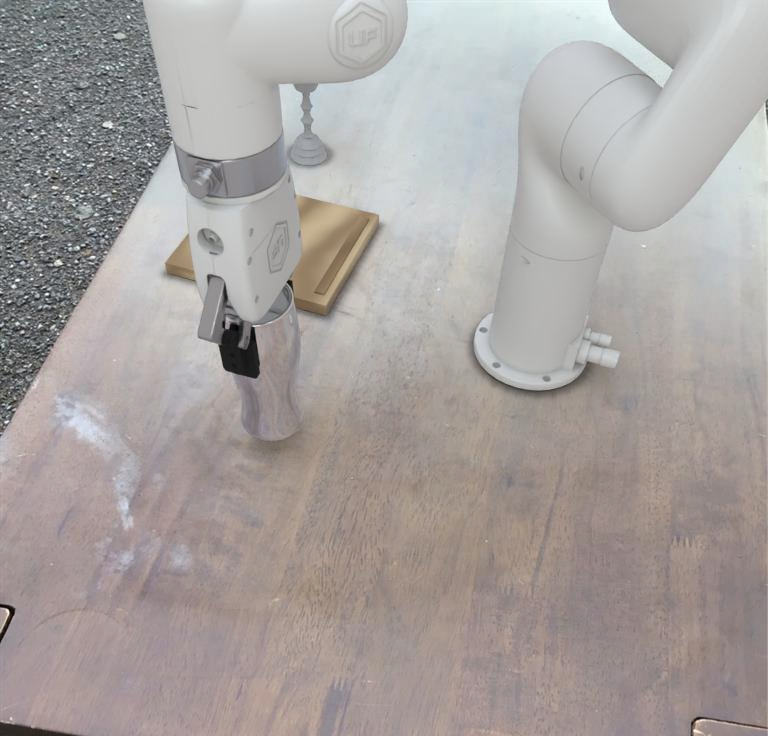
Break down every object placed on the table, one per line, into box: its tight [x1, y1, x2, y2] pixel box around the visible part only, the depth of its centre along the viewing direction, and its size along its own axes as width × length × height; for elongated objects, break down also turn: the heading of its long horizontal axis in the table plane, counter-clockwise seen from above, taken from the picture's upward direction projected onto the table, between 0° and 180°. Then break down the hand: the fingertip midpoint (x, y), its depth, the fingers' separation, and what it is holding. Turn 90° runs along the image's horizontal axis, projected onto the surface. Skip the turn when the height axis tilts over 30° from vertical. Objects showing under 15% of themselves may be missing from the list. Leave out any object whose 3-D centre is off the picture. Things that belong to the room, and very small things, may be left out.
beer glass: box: [225, 283, 305, 442], centre depth 74 cm, size 7×7×15 cm
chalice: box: [289, 84, 328, 166], centre depth 103 cm, size 7×7×18 cm
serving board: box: [164, 194, 380, 317], centre depth 98 cm, size 20×18×2 cm
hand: (260, 341), depth 71 cm, fingers closed on beer glass, 7 cm apart
